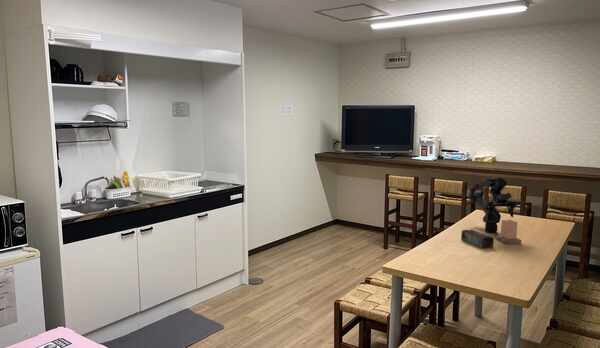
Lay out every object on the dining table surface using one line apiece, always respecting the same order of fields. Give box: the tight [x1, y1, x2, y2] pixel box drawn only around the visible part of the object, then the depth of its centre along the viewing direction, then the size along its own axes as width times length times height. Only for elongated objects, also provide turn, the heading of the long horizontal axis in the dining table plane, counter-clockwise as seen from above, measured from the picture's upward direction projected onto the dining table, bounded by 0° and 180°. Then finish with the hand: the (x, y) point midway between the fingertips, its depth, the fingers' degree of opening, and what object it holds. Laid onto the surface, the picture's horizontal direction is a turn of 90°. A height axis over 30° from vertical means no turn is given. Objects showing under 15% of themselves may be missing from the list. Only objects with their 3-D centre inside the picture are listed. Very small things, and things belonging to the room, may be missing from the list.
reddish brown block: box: [500, 219, 518, 239], centre depth 262 cm, size 6×6×10 cm
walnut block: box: [495, 234, 522, 245], centre depth 263 cm, size 10×10×3 cm
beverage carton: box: [460, 229, 495, 249], centre depth 260 cm, size 8×19×7 cm, turn 17°
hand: (505, 217), depth 267 cm, fingers open, 9 cm apart
